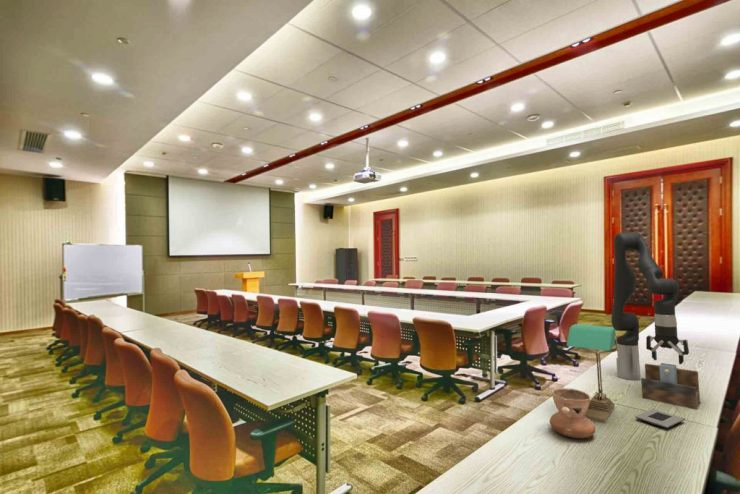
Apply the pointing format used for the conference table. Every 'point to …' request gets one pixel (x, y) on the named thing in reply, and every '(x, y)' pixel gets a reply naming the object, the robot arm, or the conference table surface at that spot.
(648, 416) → the electrical outlet
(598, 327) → the banker's lamp
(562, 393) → the ceramic jug
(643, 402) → the conference table surface
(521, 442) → the conference table surface
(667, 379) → the cabinet block
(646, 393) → the board
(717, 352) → the conference table surface
